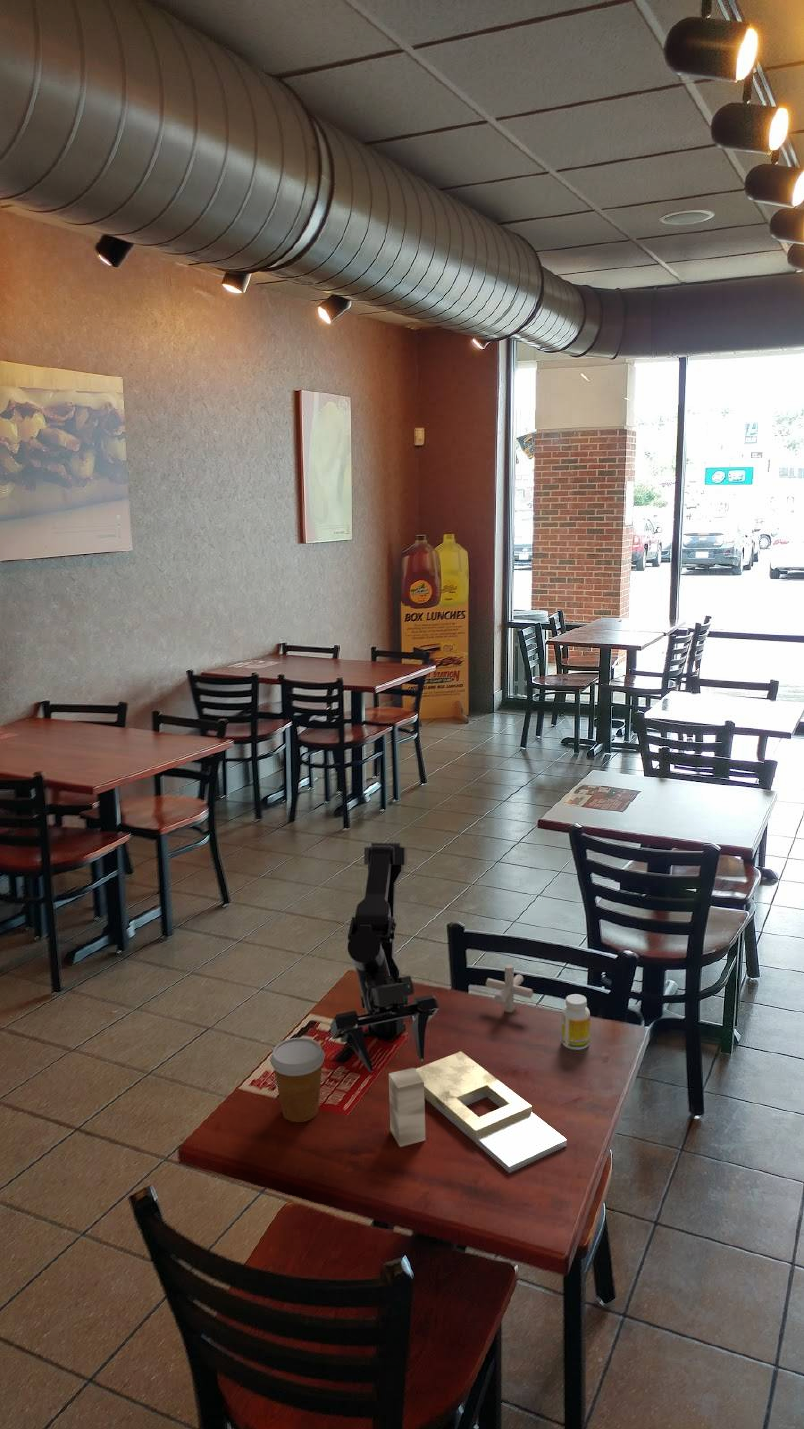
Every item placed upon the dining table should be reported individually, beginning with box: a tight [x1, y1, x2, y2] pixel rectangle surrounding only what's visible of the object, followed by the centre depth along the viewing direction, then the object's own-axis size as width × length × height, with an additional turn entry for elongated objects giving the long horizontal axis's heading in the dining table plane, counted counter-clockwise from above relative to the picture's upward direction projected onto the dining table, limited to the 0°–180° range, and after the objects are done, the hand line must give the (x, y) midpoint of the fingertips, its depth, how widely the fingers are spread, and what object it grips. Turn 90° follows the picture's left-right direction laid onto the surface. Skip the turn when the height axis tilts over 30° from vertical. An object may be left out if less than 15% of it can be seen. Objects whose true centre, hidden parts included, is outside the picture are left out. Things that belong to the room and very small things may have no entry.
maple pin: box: [388, 1067, 426, 1148], centre depth 167 cm, size 5×5×11 cm
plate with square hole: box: [415, 1051, 568, 1174], centre depth 173 cm, size 30×12×2 cm, turn 32°
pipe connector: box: [485, 963, 534, 1013], centre depth 207 cm, size 10×10×10 cm
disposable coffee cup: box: [269, 1037, 326, 1123], centre depth 174 cm, size 10×10×12 cm
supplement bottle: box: [561, 993, 591, 1051], centre depth 194 cm, size 5×5×10 cm
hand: (397, 1065), depth 170 cm, fingers open, 9 cm apart
